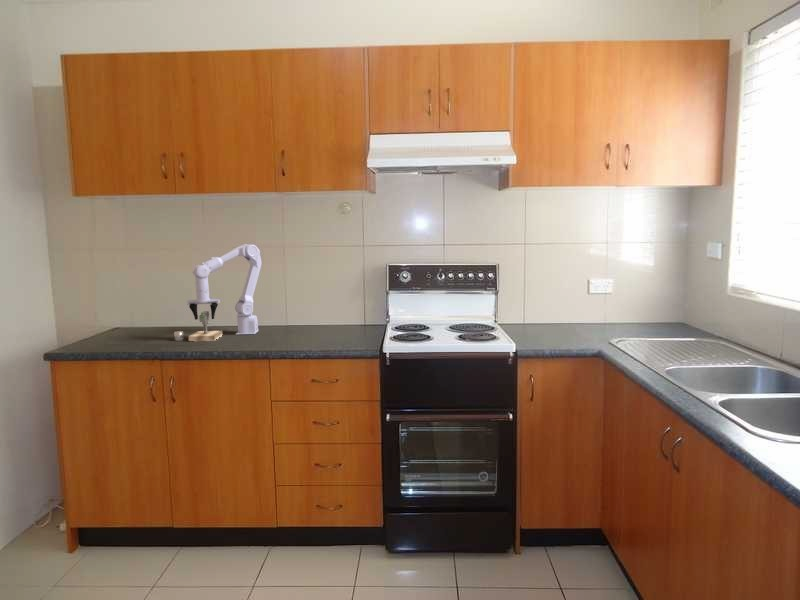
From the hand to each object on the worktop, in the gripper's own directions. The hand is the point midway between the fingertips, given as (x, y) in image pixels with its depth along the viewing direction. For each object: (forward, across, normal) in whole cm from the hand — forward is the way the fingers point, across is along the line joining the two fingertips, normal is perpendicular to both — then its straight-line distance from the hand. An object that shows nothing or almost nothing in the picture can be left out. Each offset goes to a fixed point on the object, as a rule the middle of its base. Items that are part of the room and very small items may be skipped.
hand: (204, 319), depth 260 cm
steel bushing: (+10, +12, +1) cm, 16 cm away
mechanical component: (+7, 0, 0) cm, 7 cm away
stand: (+10, 0, 0) cm, 10 cm away
